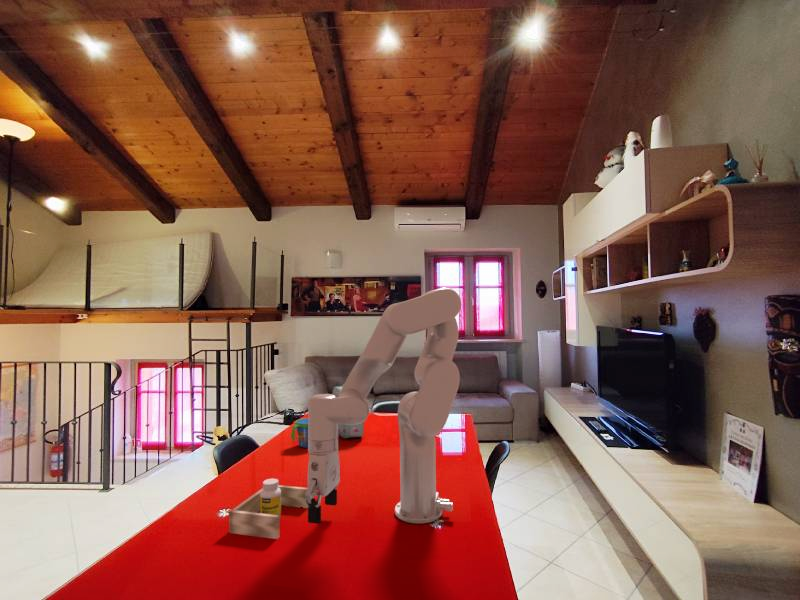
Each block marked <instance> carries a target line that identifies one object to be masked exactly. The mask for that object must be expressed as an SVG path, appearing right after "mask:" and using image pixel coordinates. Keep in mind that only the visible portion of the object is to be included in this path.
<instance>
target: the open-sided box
mask: <svg viewBox="0 0 800 600" xmlns="http://www.w3.org/2000/svg"><path fill="white" fill-rule="evenodd" d="M278 487H279V488H280V489H281V506H282V505H284V507H291V506H292V507H293V508H294V507H295V508H300V507H303V509H308V507H307V503H306V497H305V493H306V491H307V489H308V487H300V486H291V485H280V484H278ZM262 490H263V487H262V488H261V489H259V490H258V491H256V492H255V493H254V494H252V495H251V496H249V497H248V498H247V499H245V500H244V501H242V502H240V503H239V504H238V505H237V506H235V507H234V508H233V509H231V510H229V513H228V519H229V520H228V523H229V524H228V533H229V534H234V535H235V534H236V535H242V536H251V537H257V538H258V537H259V538H266V539H273V540H278V539H279V538H280V519H279V515H272V514H263V513H260V512H259V511H260V492H261V491H262ZM258 512H259V513H258Z"/></svg>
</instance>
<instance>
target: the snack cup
mask: <svg viewBox="0 0 800 600" xmlns="http://www.w3.org/2000/svg"><path fill="white" fill-rule="evenodd" d="M296 435H297V442H298V446H299V447H301V448H308V417H304V418H303V417H302V418H299V419H297V420H295V422H294V425H293V426H292V429H291V432H290V439H291V441H292V442H295V441H296Z"/></svg>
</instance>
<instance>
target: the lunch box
mask: <svg viewBox="0 0 800 600" xmlns="http://www.w3.org/2000/svg"><path fill="white" fill-rule="evenodd" d="M344 384H345V383H344ZM344 384H342V385H341V386H334V387H333V389H332V392H331V394H332V395H335V396H336V397H338V396H339V394H340V391H341V389H342V388H343V386H344ZM364 427H365V421H364V422H362V423H360V424H357V425H346V424H338V436H340V437H341V438H343V439H351V438H359V437H360V438H362V437H363V435H364V429H365V428H364Z"/></svg>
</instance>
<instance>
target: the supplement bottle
mask: <svg viewBox="0 0 800 600" xmlns="http://www.w3.org/2000/svg"><path fill="white" fill-rule="evenodd" d="M278 485H280V484H279V479H278V478H267V479H265V480H264V481H262V488H263V490H262V491H261V492H260V512H259V513H263V514H272V515H279V520H280V518H281V515H282V505H281V489H280V488H279V487H278Z"/></svg>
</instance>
